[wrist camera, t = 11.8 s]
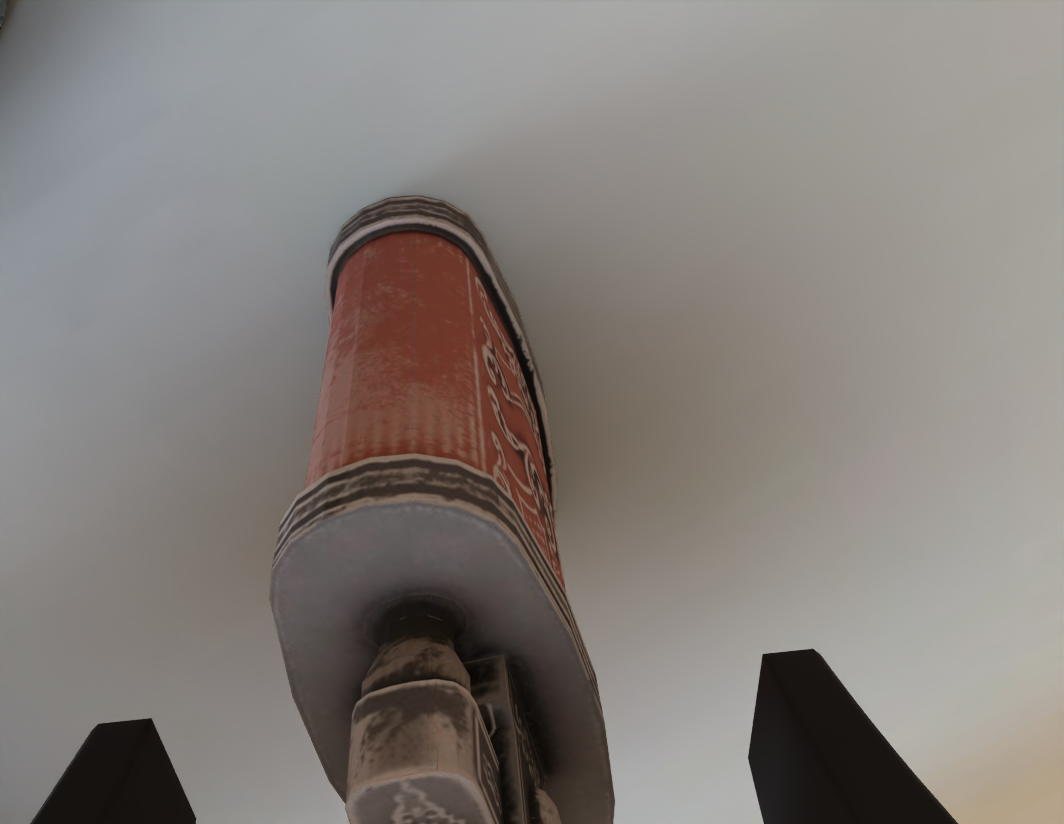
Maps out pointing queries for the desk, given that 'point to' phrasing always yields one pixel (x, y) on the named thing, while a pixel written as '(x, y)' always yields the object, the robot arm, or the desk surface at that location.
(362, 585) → the lighter
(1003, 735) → the desk surface
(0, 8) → the tin
